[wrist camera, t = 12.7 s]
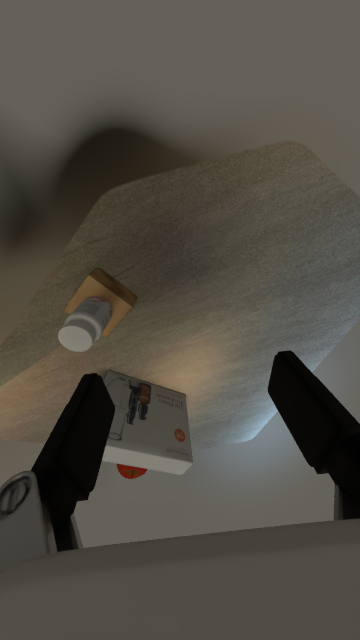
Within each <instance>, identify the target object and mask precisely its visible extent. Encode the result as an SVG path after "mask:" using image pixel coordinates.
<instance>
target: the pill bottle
mask: <svg viewBox="0 0 360 640" xmlns="http://www.w3.org/2000/svg"><path fill="white" fill-rule="evenodd" d="M112 314H113V309H112V306H111V305H110V303H109V302H108V301H107V300H105V299H104V298H102V297H98V296H92V297H89V298H87V299H85V300H84V301H83V302H82V303H81V304H80V305H79V306H78V307H77V308H76V309H75V310H74V311H73V312H72V313H71V314H70V315H69V316H68V317H67V319H66V320H65V323H64V326H63V327H62V328H61V329H60V331H59V333H58V338H59V341H60V343H61V344H62V345H63V346H64V347H65V348H67V349H69V350H71V351H76V352H83V351H86V350H88V349H89V348H90V347H91V346H92V344H93V343H94V342H95V341H96V340H98V339H99V338H100V336H101V335H102V333H103V331H104V329H105V328H106V326H107V324H108V322H109V321H110V319H111V317H112Z"/></svg>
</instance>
